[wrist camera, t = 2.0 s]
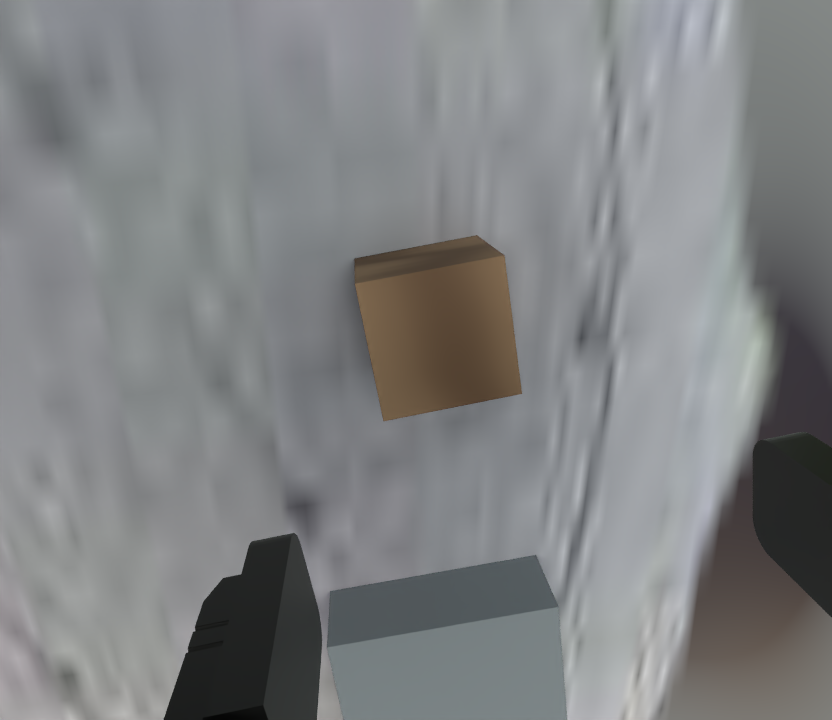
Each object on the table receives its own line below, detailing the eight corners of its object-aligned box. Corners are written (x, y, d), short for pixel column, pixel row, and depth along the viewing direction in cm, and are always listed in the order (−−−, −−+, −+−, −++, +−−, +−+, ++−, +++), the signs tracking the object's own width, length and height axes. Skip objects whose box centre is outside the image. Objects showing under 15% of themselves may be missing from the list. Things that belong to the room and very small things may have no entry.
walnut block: (378, 373, 27) (383, 421, 23) (354, 258, 26) (354, 284, 21) (492, 350, 27) (521, 393, 23) (476, 235, 26) (504, 255, 21)
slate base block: (364, 740, 34) (365, 814, 30) (330, 586, 31) (327, 647, 27) (548, 706, 34) (571, 775, 31) (533, 550, 31) (558, 606, 27)
